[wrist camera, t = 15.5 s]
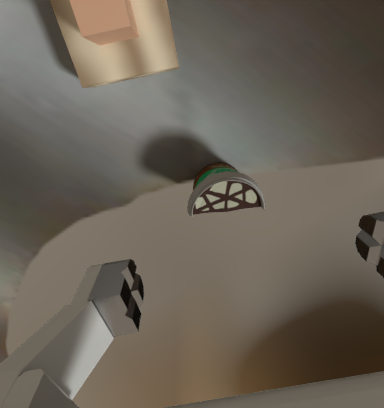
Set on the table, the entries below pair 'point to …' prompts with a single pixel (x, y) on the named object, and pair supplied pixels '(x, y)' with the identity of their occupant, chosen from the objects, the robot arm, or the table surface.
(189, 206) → the food container
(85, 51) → the birch plinth
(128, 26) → the terracotta block
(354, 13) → the table surface
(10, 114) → the table surface
